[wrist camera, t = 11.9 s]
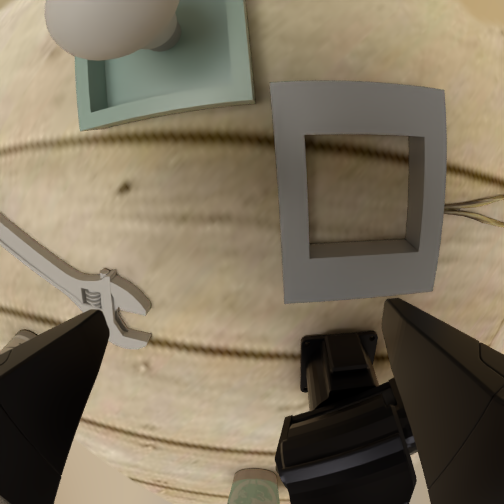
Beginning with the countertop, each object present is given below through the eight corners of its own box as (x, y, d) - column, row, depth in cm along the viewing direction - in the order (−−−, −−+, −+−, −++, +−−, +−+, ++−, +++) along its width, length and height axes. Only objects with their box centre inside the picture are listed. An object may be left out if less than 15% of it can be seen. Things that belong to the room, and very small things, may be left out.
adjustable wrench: (-31, 205, 23) (-42, 210, 21) (-20, 153, 21) (-32, 156, 19) (140, 347, 27) (133, 359, 26) (169, 303, 25) (163, 315, 23)
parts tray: (255, 103, 18) (252, 99, 16) (102, 129, 19) (80, 131, 17) (241, -36, 14) (236, -56, 12) (96, 0, 15) (76, -12, 12)
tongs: (420, 190, 20) (433, 197, 19) (527, 184, 19) (541, 190, 18) (418, 243, 22) (430, 253, 20) (523, 227, 21) (536, 235, 19)
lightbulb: (126, 9, 15) (30, -47, 5) (212, -7, 15) (161, -100, 5) (124, 85, 18) (10, 70, 8) (212, 73, 17) (148, 22, 7)
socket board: (419, 275, 22) (432, 291, 20) (283, 285, 23) (284, 303, 21) (427, 92, 17) (444, 90, 15) (269, 87, 18) (269, 82, 16)
